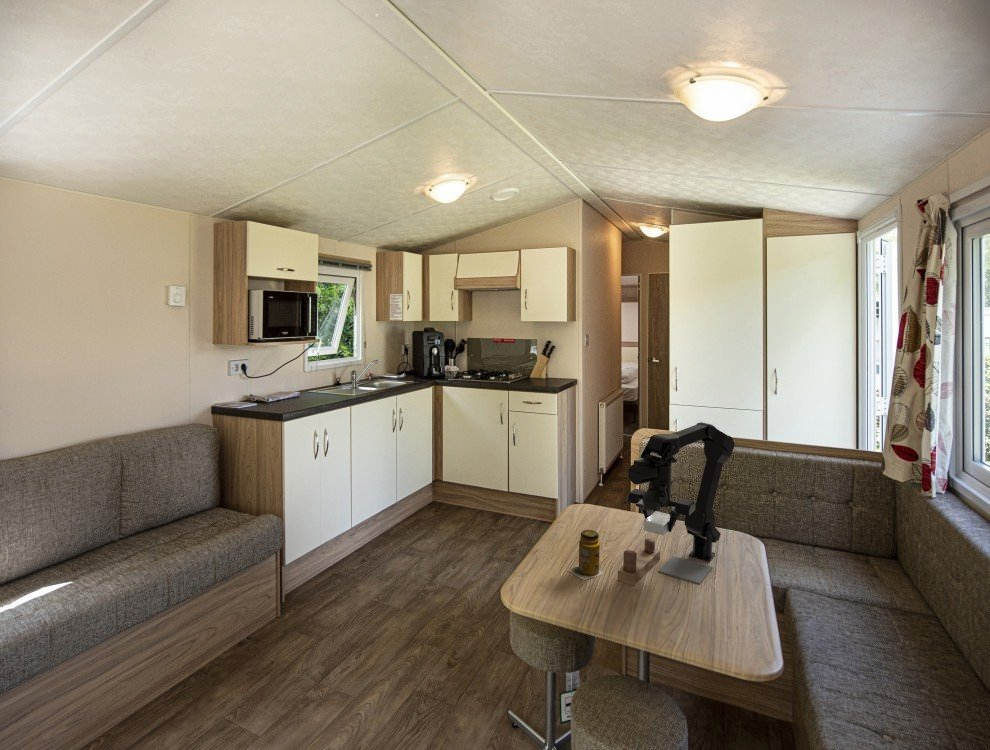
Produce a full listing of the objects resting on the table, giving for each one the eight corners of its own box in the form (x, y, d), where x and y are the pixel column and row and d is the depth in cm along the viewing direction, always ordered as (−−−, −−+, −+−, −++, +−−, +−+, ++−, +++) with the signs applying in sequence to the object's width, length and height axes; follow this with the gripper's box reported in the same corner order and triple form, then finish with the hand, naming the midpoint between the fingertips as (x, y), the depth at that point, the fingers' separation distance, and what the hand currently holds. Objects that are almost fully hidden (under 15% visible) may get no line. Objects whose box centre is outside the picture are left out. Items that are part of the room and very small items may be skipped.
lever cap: (655, 520, 163) (655, 511, 162) (675, 525, 159) (675, 515, 159) (643, 530, 156) (643, 520, 155) (663, 535, 152) (664, 525, 152)
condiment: (605, 573, 157) (606, 534, 156) (584, 581, 152) (585, 541, 151) (588, 563, 163) (589, 526, 162) (567, 570, 158) (567, 532, 157)
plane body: (644, 555, 168) (645, 531, 167) (660, 559, 165) (660, 535, 164) (617, 580, 153) (618, 553, 152) (634, 585, 150) (634, 558, 149)
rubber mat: (672, 557, 167) (672, 555, 167) (712, 568, 160) (712, 567, 160) (658, 572, 158) (658, 570, 157) (699, 584, 150) (699, 582, 150)
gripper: (619, 479, 155) (618, 530, 157) (683, 492, 144) (681, 547, 146) (635, 470, 164) (634, 518, 166) (696, 481, 152) (695, 533, 154)
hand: (659, 529), depth 158 cm, fingers closed on lever cap, 6 cm apart
